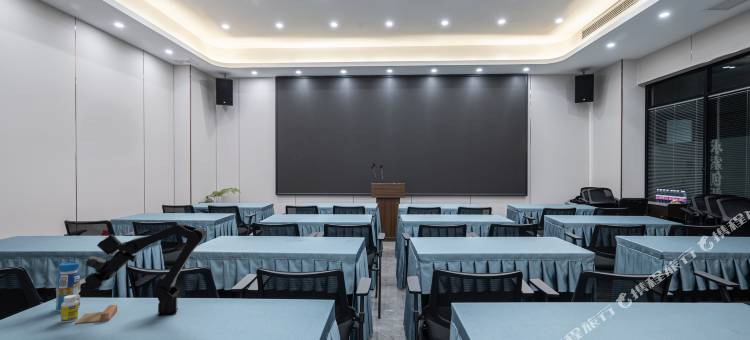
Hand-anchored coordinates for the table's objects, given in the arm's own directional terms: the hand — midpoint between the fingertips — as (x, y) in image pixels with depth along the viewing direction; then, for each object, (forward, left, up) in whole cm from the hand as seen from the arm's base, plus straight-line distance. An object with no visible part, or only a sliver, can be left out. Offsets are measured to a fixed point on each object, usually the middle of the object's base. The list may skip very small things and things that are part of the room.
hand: (84, 291), depth 149 cm
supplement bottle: (+5, 0, -12) cm, 13 cm away
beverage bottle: (+11, -15, -12) cm, 22 cm away
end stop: (-5, 0, -11) cm, 12 cm away
